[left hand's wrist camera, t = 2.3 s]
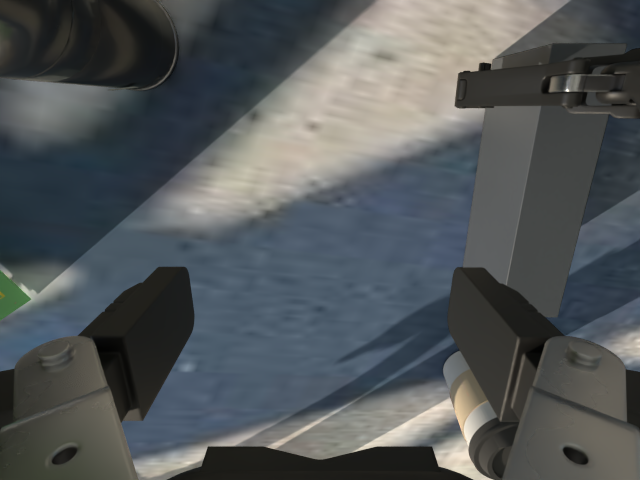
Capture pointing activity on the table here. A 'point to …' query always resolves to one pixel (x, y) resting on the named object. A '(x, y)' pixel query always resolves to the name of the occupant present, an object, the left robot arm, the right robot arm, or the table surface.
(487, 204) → the box
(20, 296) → the toy game set
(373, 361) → the table surface
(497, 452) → the coffee cup
